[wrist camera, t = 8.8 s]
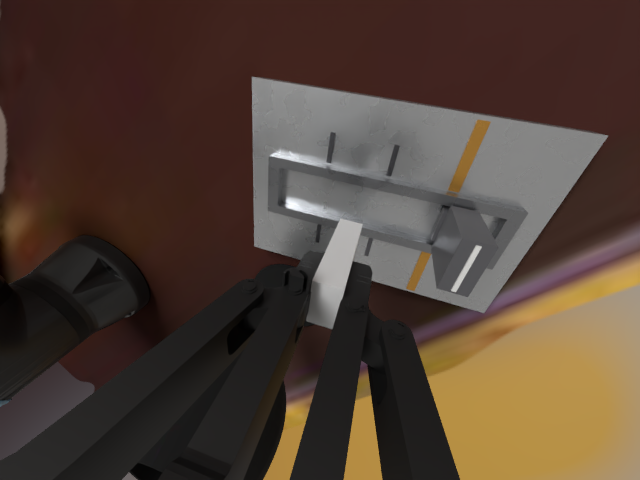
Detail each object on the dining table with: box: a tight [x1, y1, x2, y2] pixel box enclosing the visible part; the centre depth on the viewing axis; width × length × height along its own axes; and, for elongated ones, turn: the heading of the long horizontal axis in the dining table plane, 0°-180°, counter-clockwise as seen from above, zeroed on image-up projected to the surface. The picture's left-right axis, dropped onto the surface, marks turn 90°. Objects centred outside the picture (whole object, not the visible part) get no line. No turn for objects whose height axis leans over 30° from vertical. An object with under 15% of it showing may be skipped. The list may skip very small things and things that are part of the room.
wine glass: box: [129, 264, 314, 480], centre depth 26 cm, size 10×10×20 cm
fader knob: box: [430, 206, 499, 297], centre depth 18 cm, size 2×4×6 cm, turn 172°
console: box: [252, 77, 608, 313], centre depth 22 cm, size 24×16×3 cm, turn 82°
